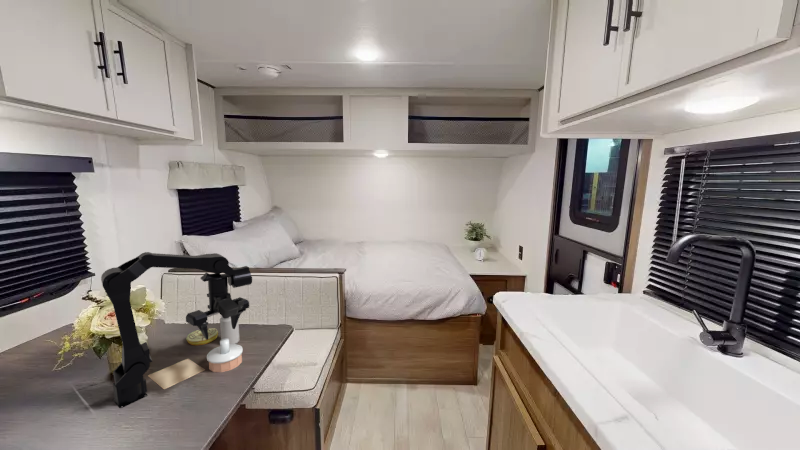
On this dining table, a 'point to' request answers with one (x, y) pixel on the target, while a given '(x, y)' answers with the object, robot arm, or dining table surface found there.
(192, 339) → the decorated donut
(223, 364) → the bowl
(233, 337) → the beverage can
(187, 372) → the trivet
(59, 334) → the dining table surface
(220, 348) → the lid
